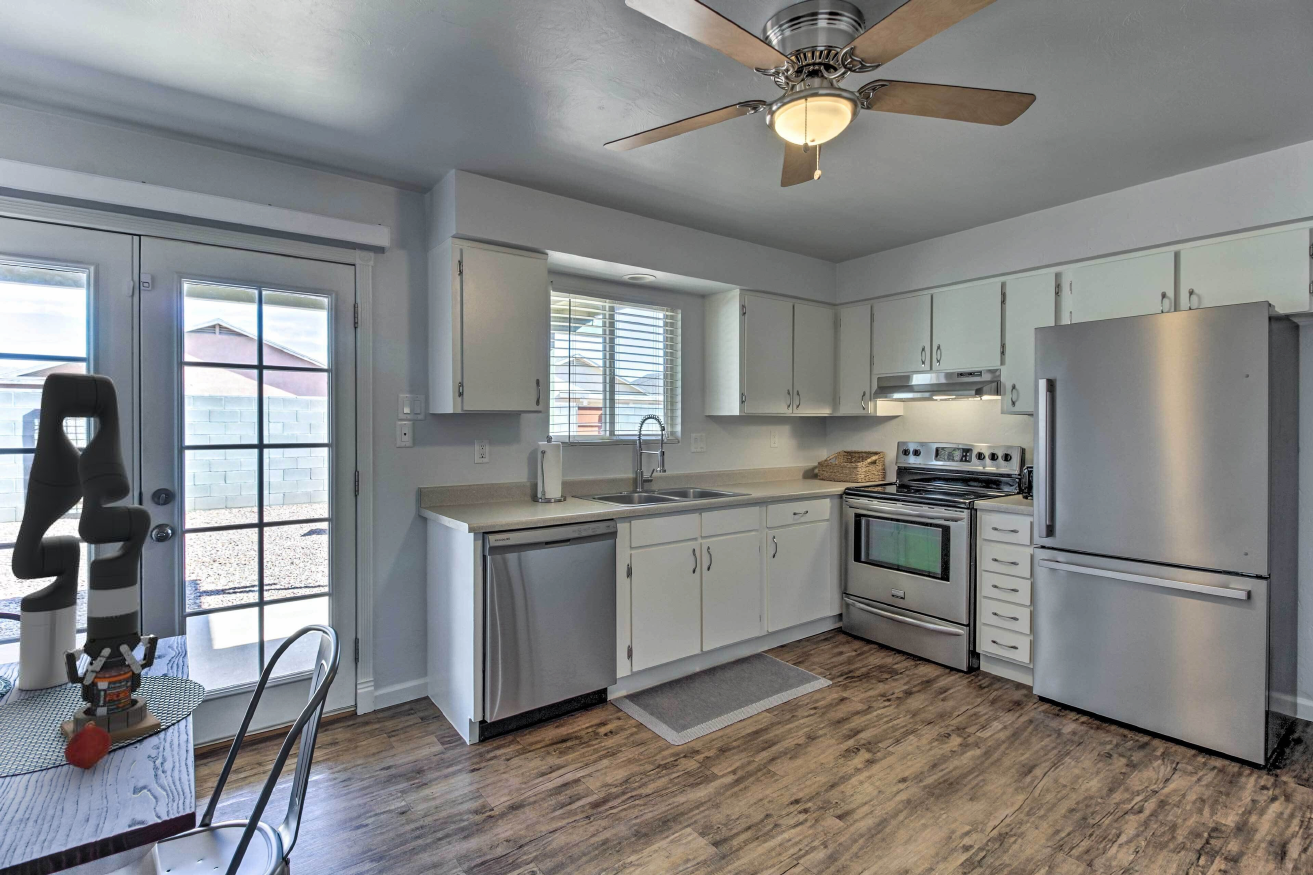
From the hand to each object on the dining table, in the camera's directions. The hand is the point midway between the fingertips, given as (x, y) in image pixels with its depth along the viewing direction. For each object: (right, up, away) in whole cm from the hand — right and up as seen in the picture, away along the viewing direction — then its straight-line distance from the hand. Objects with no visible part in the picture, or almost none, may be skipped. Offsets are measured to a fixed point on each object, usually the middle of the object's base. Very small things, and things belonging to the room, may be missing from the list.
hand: (111, 696), depth 120 cm
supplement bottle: (0, -4, 0) cm, 4 cm away
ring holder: (0, -6, 0) cm, 6 cm away
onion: (+8, -7, -14) cm, 18 cm away
